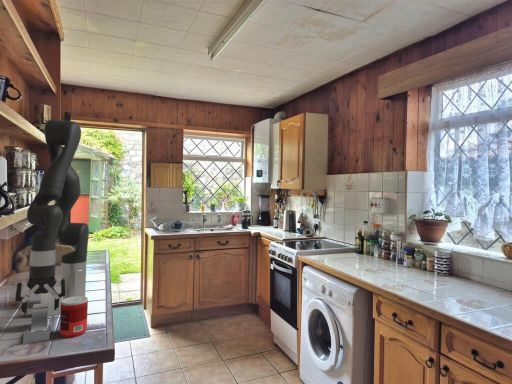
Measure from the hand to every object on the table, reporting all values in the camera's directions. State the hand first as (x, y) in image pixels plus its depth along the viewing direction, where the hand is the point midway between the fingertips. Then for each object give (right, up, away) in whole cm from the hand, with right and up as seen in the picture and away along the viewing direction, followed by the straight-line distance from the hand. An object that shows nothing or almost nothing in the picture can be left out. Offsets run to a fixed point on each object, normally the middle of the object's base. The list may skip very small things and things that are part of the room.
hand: (40, 311), depth 114 cm
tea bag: (-4, -6, +12) cm, 14 cm away
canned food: (+13, -6, -4) cm, 15 cm away
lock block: (-1, -6, 0) cm, 5 cm away
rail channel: (+4, -5, -7) cm, 10 cm away
